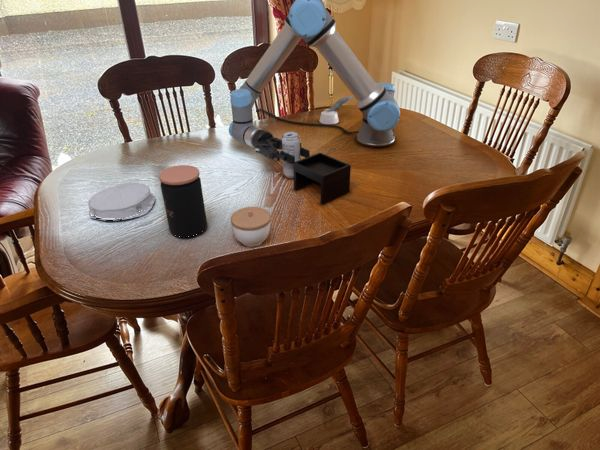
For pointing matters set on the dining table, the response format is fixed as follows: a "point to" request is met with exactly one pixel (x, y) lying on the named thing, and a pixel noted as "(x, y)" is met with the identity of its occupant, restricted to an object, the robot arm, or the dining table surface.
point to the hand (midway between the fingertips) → (301, 157)
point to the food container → (121, 201)
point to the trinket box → (251, 225)
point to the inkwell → (333, 112)
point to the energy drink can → (290, 151)
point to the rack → (323, 176)
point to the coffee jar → (183, 201)
